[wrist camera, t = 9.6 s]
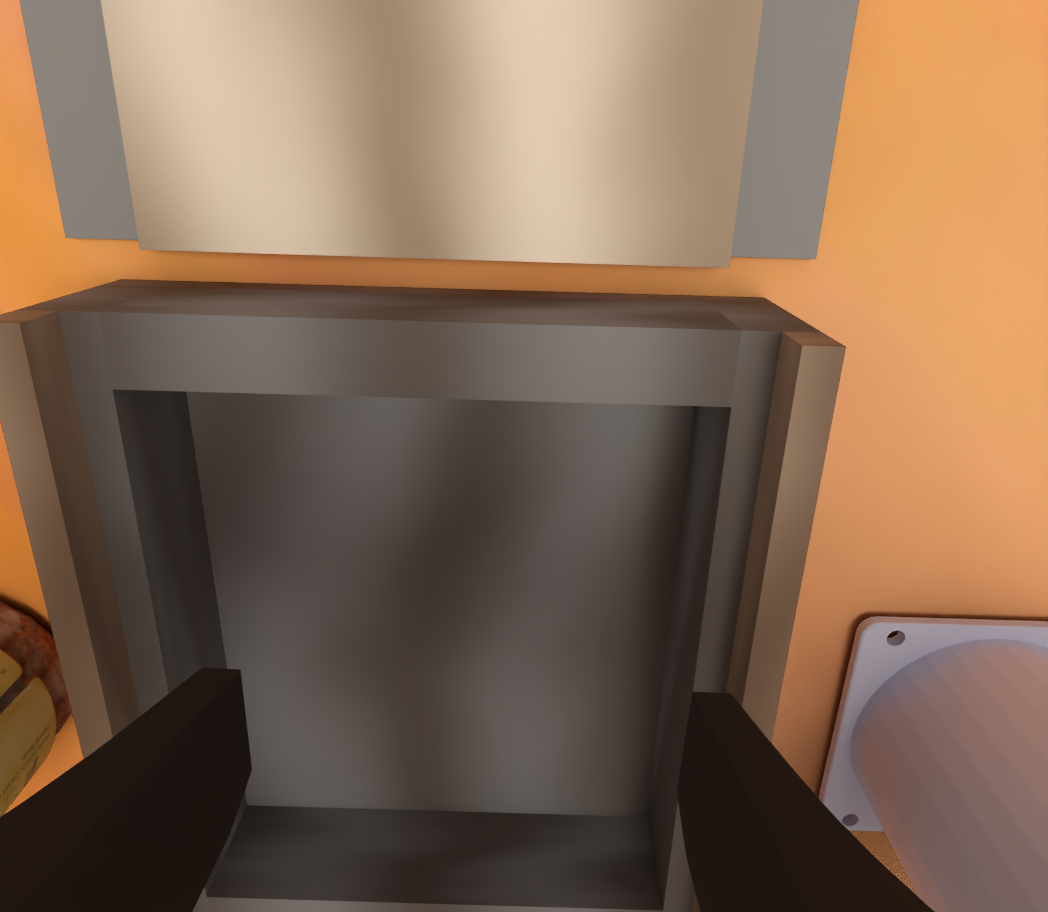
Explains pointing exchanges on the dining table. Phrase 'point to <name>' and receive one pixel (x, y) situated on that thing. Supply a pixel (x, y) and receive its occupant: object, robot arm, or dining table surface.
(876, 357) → the dining table surface
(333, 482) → the slide box
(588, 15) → the cover plate
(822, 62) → the mat
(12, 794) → the sauce bottle
